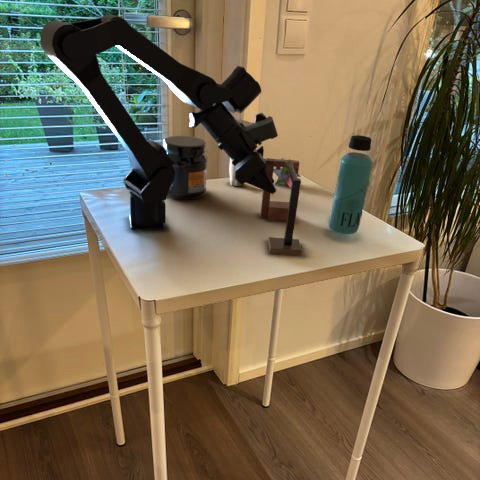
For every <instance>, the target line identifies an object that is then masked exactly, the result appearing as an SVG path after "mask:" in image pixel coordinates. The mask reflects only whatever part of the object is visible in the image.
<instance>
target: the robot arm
mask: <svg viewBox="0 0 480 480" xmlns="http://www.w3.org/2000/svg"><path fill="white" fill-rule="evenodd" d="M39 44H40V47H41V49H42V50H43V52H44V54H45V55H46V56H47V57H48V58H49V59H50V60H51V61H53V62H54V64H55V65H56V66H57V67H59V68H60V69H61V70H62V71H63V72H64V73H65V74H66V75H67V76H68V77H69V78H70V79H71V80H73V81H74V83H76V84H77V85H78V86H79V87H80V89H81V90H82V91H83V93H84V94H85V96H87V98H88V100H89V101H90V102H91V104H92V105H93V107H94V108H95V109H96V111H97V112H98V114H99V115H100V117H102V119H103V120H104V122H105V124H106V125H107V126H108V127H109V128H110V130H111V131H112V133H113V134H114V136H115V137H116V138H117V139H118V141H119V142H120V144H121V145H122V147H123V148H124V149H125V152H126V154H127V158H128V161H129V164H130V166H131V169H130V170H129V172H128V173H127V174H126V176H124V178H123V179H122V182H123V184H124V187H125V189H126V190H127V191H129V192H128V193H129V195H128V196H129V226H130V230H132V231H150V230H155V231H156V230H164V229H165V225H164V224H166V216H167V215H166V207H167V206H166V202H165V201H166V200H167V198H168V192H169V189H170V186H171V185H172V183H173V181H174V178H175V175H176V172H175V169H174V167H173V166H172V165H174V164H175V162H173V161H172V160H171V159H170V158H169V156H168V154H167V152H166V150H165V148H164V147H163V145H162V144H159V143H158V142H156V141H154V140H153V139H151V138H149V139H148V140H147V139H146V137H145V135H144V134H143V132H142V131H141V130H140V128H139V127H138V125H137V124H136V122H135V121H134V119H133V117H132V116H131V115H130V113H129V112H128V110H127V108H126V107H125V106H124V104H123V103H122V101H121V100H120V98H119V97H118V96H117V93H116V92H114V89H113V88H112V87H111V85H110V83H109V82H108V81H107V79H106V77H105V76H104V75H103V73H102V69H101V67H100V63H99V60H98V56H97V55H99V54H102V53H104V52H106V51H108V50H110V49H112V48H114V47H117V49H119V50H120V51H122V52H123V53H124V54H126V55H127V56H129V57H130V58H132V59H133V60H135V61H136V62H137V63H139V64H140V65H142V66H143V67H144V68H146V69H147V70H149V71H151V72H152V73H153V74H155V75H156V76H157V77H159V78H160V79H161V80H162V81H163V82H164V83H166V85H168V88H169V89H170V90H171V91H172V93H174V94H175V95H176V96H177V98H179V100H181V101H182V102H183V103H185V104H187V105H190V106H192V107H195V108H197V109H199V110H197V112H194V111H193V112H190V113H189V128H190V129H195V128H197V127H198V126H199V125H200V124H201V126H202V127H203V128H204V129H205V130H206V131H207V132H208V134H209V135H210V136H211V137H212V139H213V140H214V141H215V142H216V143H217V147H218V149H219V150H220V151H222V150H223V151H224V153H225V154H226V155H227V156H228V157H229V159H230V158H231V162H232V164H233V165H234V166H235V165H236V164H237V165H236V166H235V179H236V180H237V181H238V182H239V183H240V184H241V185H244V184H245V183H246V184H248V185H251V186H254V187H256V188H258V189H259V190H262V191H263V190H264V191H267V192H269V193H271V195H274V194H276V192H277V188H276V187H275V178H274V177H273V178H272V181H271V180H270V178H269V176H268V174H267V173H266V171H265V167H266V158H264V151H265V149H264V146H263V145H262V143H263V142H266V141H268V140H270V139H271V140H274V139H276V138H277V137H278V136H279V134H278V130H277V128H276V124H275V121H274V118H273V116H270V115H268V116H266V115H265V114H264V113H263V112H259V113H257V114H255V115H254V122H251V125H248V126H246V127H245V125H244V124H243V123H242V122H241V123H240V122H237V120H236V119H237V118H235V116H234V115H233V114H235V113H237V114H242V113H243V112H244V111H245V110H247V108H248V107H249V106H250V105H251V104H252V103H253V102H254V101H255V100H256V99H257V98H258V97H259V96H260V95H261V93H262V87H261V85H260V84H259V81H257V80H256V79H255V78H254V77H253V76H252V75H251V74H250V73H249V72H248V71H247V70H246V68H245V67H243V66H241V65H237V66H236V67H235V68H234V69H233V71H232V72H231V73H230V74H229V76H228V77H226V79H225V80H223V82H222V83H221V84H220V83H217V82H216V80H215V79H214V78H213V77H211V76H209V75H207V74H204V73H203V72H201V71H198V70H196V69H194V68H191V67H190V66H188V65H185V64H183V63H181V62H180V61H178V60H177V59H175V58H174V57H173V56H172V55H170V54H169V53H167V52H166V51H165V50H164V49H162V48H161V47H160V46H158V45H157V44H155V43H154V42H153V41H152V40H150V39H149V38H147V37H146V36H145V35H143V34H142V33H141V32H140V31H138V30H137V29H135V27H133V26H132V25H130V23H129V22H128V21H127V20H126V19H125V18H124V17H121V16H118V15H115V14H114V15H113V14H105V15H103V16H100V17H97V18H91V19H86V20H79V21H74V22H69V23H67V22H66V21H65V22H64V21H61V20H50V21H49V22H47V23H46V24H45V25H44V26H43V27H42V29H41V32H40V40H39ZM258 145H259V146H260V147H259V148H258ZM239 162H240V163H239Z"/></svg>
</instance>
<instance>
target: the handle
mask: <svg viewBox="0 0 480 480" xmlns="http://www.w3.org/2000/svg"><path fill="white" fill-rule="evenodd" d="M235 119H236V120H237V122H240V123H241V122H242V123H243V124H244V125H245V127H246V126H248V125H251V123H252V122H250V121H249V120H243V119H240V118H239V119H237V118H235ZM239 163H240V162H239ZM236 165H237V164H236ZM236 165H235V166H236ZM235 166H234V165H233V164H232V162H231V158H230V157H229V183H230V186H233V187H241V186H242V185H243V184H242V185H241V184H240V183H239V182H238V181H237V180H236V179H235Z"/></svg>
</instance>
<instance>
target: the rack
mask: <svg viewBox="0 0 480 480" xmlns="http://www.w3.org/2000/svg"><path fill="white" fill-rule="evenodd" d="M286 160H287V161H286V162H285V165H286V167H287V168H288V172H289V175H290V178H291V181H292V186H291V188H290V194H289V201H288V202H289V208H288V215H287V222H286V221H285V222H286V223H285V230H284V237H273V236H269V237H268V240H267V244H268V251H269V252H268V253H269V254H270V255H283V256H297V257H300V256H302V252H303V249H302V245H301V241H300V239H299V238H294V231H295V225H296V217H297V211H298V206H299V198H300V191H301V186H302V179H301V178H299V177H297V176H296V173H295V170H294V167H293V161H292V160H293V159H286Z"/></svg>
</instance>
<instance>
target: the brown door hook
mask: <svg viewBox="0 0 480 480" xmlns="http://www.w3.org/2000/svg"><path fill="white" fill-rule="evenodd" d="M265 159H266V167H265V171H266V173H267V174H268V176H269V178H270V180H271V181H272V178H273V179H274V177H273V176H274V172H273V169H276V170H280V167H285V168H287V167H286V165H285V162H286V161H287V160H288V159H285V160H282V159H281V158H280V159H279V158H267V157H266V158H265ZM291 160H292V161H293V167H294V170H295V173H296V174H299V171H300V161H299V160H294V159H291ZM271 195H272V194H271V193H269V192H267V191H264V190H262V195H261V205H260V213H259V216H260V218H261V219H267V221H273V222H287V215H288V208H289V201H279V200H271Z"/></svg>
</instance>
